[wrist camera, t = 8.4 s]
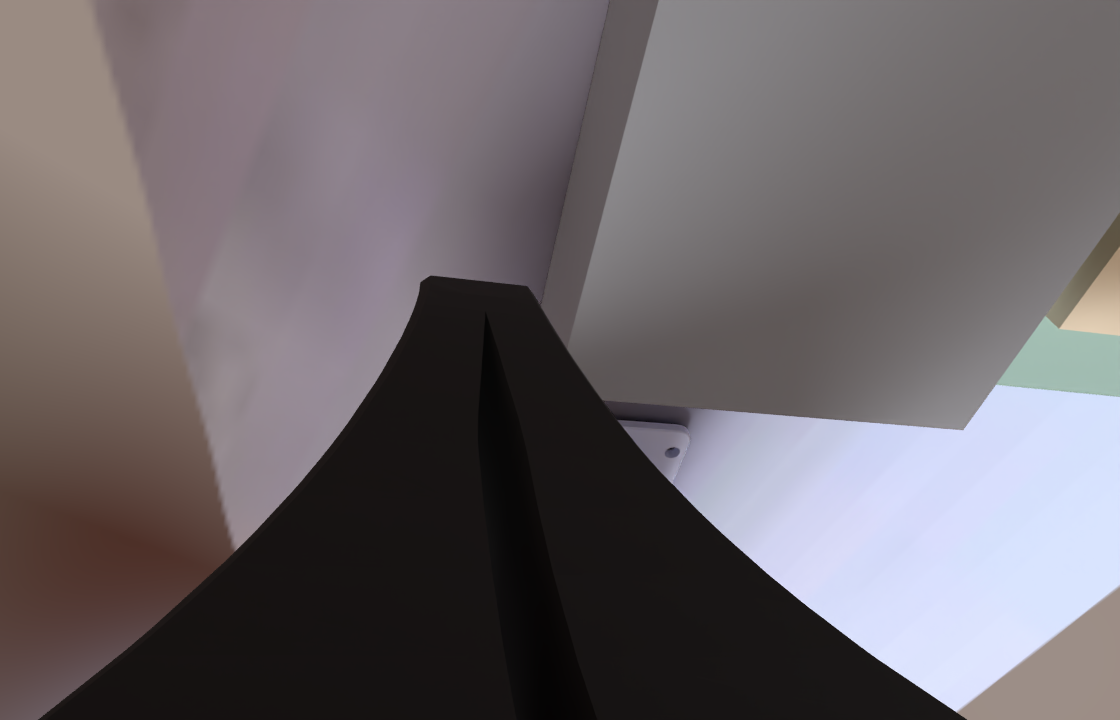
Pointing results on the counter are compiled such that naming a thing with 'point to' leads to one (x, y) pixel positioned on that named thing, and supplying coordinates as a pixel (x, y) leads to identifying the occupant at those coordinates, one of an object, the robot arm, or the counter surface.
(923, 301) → the grey box
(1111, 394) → the mat
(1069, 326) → the tan rectangular block
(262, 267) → the counter surface
